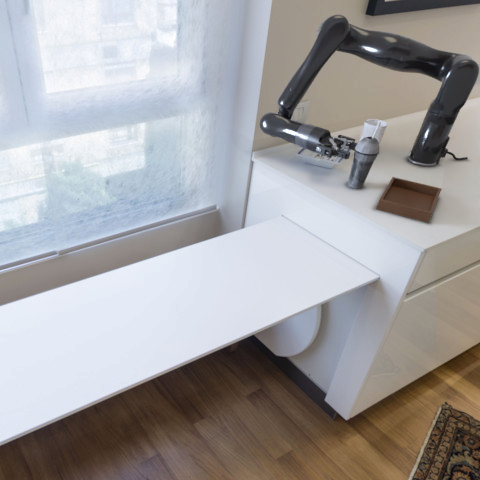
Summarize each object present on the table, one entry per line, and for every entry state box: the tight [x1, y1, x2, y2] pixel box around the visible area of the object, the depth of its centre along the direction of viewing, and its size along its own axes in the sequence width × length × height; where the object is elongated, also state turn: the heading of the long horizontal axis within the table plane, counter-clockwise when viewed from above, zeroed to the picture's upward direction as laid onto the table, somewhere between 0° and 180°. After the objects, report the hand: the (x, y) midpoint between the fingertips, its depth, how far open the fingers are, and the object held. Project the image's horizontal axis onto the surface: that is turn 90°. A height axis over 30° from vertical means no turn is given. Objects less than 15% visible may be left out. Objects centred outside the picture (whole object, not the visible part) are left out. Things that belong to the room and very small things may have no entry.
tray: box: [375, 176, 442, 224], centre depth 134 cm, size 19×15×3 cm
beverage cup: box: [347, 122, 381, 190], centre depth 137 cm, size 7×7×20 cm
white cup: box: [359, 118, 389, 145], centre depth 162 cm, size 8×8×10 cm
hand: (356, 152), depth 138 cm, fingers open, 8 cm apart
